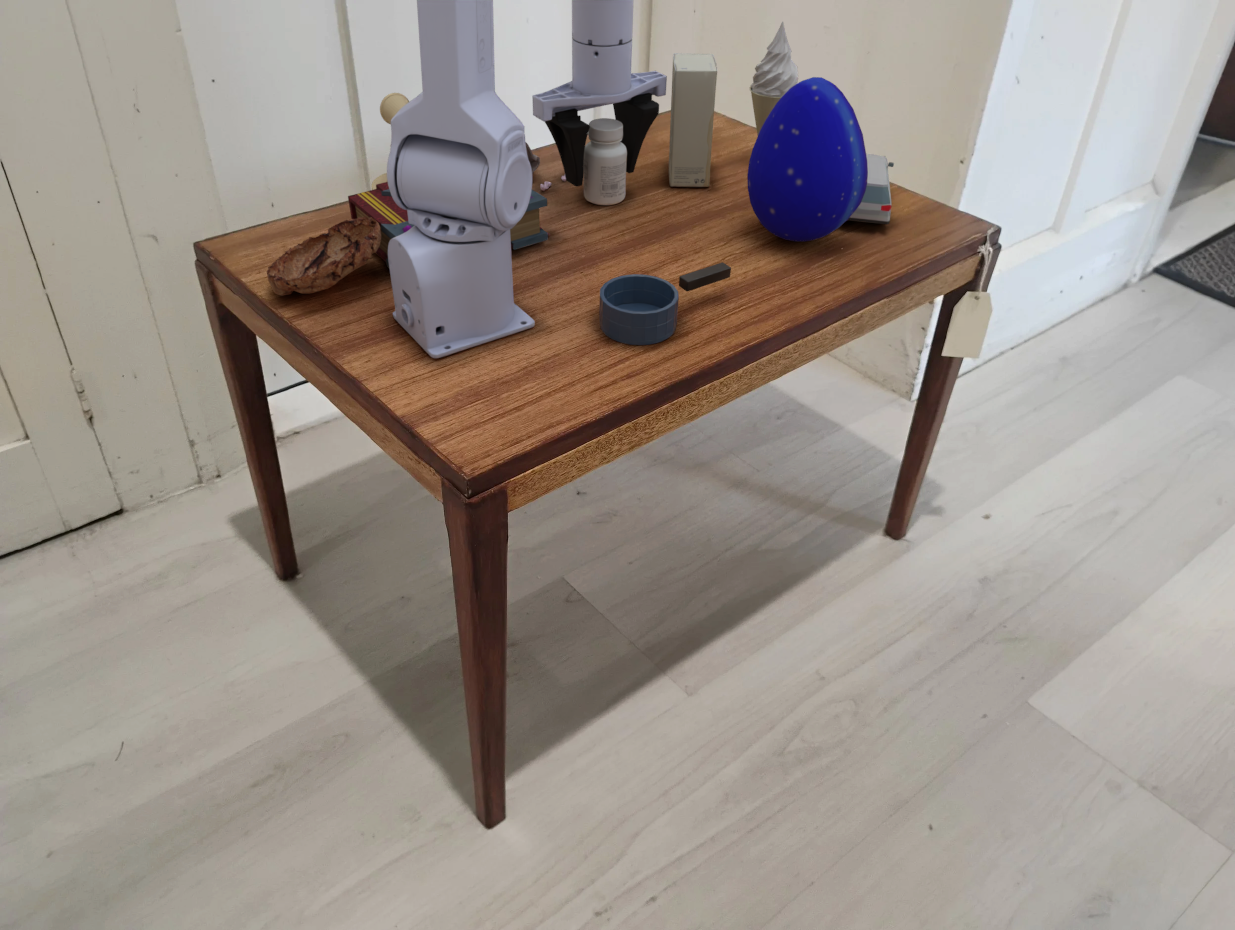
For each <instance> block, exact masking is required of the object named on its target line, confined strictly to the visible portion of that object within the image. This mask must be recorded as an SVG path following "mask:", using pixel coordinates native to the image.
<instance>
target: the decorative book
mask: <svg viewBox="0 0 1235 930" xmlns="http://www.w3.org/2000/svg"><path fill="white" fill-rule="evenodd" d="M347 199H348V205H349V211H350V212H349V213H350V217H351V218H350V219H357V218H359V217H364V216H366V217H368V218H370V217H372V218H373V219H375V220H376V221H377V222H378V224H379V225H380V231H381V242H380V246H379V248H378V250H377V251H376V253H375V254H376V255H377V256H378V257H379V258H380V259H382V260H383V261H384V262H385V264H386V267H387V268H389V262H388V244H389V241H390V240H391V239H392V238H394V237H396V236H399V235H401V234H403V233H405V232H407V231H408V230H409V229H411V228H412V227H413V226H414V225H412V224H409V221H408V213H407V210H404V209H402V208H400V207H399V206H398V205H397V204H396V203H395V201H394V200H393V197H392V195H391V192H390V189H389V186H388V182H385V183H380V184H376V189H374V190H372V189H371V190H366V191H363V192H358V193H354V194H349V195H348V196H347ZM545 207H548V198H547V197H545V196H543V195H542V194H540V193H538V192H537V191H535V190H534V189H532V191H531V197H530V201H529V204H528V207H527V209H526V212H525V214H524V215H523V217H522V218H521V220H520V221H519V222H518V223H517V224H516V225H515V226H514V227H513V228H512V229H510V237H511V249H512V250H513V251H514V250H518V249H521V248H525V247H529V246H531V245H535V244H538V243H542V242H545V241H549V236H551V234H550V233H549V232H547V231H546V230H544V229H543V227H541V223H540V222H541V221H540V218H541V217H540V209H541V208H545Z"/></svg>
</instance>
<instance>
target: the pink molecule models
mask: <svg viewBox="0 0 1235 930" xmlns="http://www.w3.org/2000/svg"><path fill="white" fill-rule="evenodd" d="M563 174H564V175H563ZM563 174H562V175H561V176H560V180H561V181H562V182H567V181H566V177H565V173H563ZM552 184H553V183H552V182H550V181H546V180H545V181H544V182H543V183H540V184H539V186H540V190H541V191H542V192H545V191H546V190H548V189H549V187H551V186H552Z"/></svg>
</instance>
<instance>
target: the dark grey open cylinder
mask: <svg viewBox="0 0 1235 930" xmlns="http://www.w3.org/2000/svg"><path fill="white" fill-rule="evenodd" d="M679 295H680V294H679V291H678V289H677V287H676V286H675V285H674V284H672V283H671V282H670V281H668V280H667V279H664V278H661V277H659V276H655V275H650V274H642V273H640V274H639V273H637V274H636V273H631V274H622V275H619V276H617V277H616V276H615V277H613V278H610V279H609V280H608V281H605V282H604V283H603V285H602V286H601V287H600V289H599V309H598V310H599V311H598V312H599V313H598V314H599V315H598V316H599V317H598V319H599V320H598V321H599V322H598V323H599V329H600V330H601V332H602V333H603V334H604V335H605V336H606V337H607V338H609V339H611V340H613V341H616V342H617V343H621V344H624V345H630V346H631V345H632V346H647V345H648V346H649V345H655V344H659V343H661V342H663V341H665V340H668V339H669V338H670V337H672V335H674V334H675V332H676V330H677V325H678V313H679V311H678V310H679V297H680V296H679Z"/></svg>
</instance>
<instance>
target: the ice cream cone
mask: <svg viewBox="0 0 1235 930" xmlns="http://www.w3.org/2000/svg"><path fill="white" fill-rule="evenodd" d="M766 50H767V52H766V53H765V55H764V57H763V58H762V59H761V60H760V63H758V64H756V66H755V67H754V70H755V73H754V74H753V76H752V83H751V84H750V85H749V91H750V94H751V95H750V96H751V100H752V108H753V115H754V116H753V117H754V122H755V128H756V134H757V136H758V134H759V132H760V130H761V128H762V126H763V124H764V122H765V121H766V119H767V117H768V116H769V114H770V112H771V111H772V109H773V108H774V106H775V105H776V104H777V102H778V101H779V100H780V99H781V97H782V96H783V95H784V94H785V93H786V92H787V91H788V90H789V89H790V88H791V87H793V86H794V85H796V84H797V83H799V67H798V66H797V64H796V63H795V62H794V61H793V59H792V48H791V46H790V44H789V40H788V37H787V32H786V28H785V23H784V21H782V22H781V24H780V26H779V28H778V30H777V32H776V33H775V35H774V37H773V40H772V41H771V42H770V43H769V45H768V46H767V47H766Z"/></svg>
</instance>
